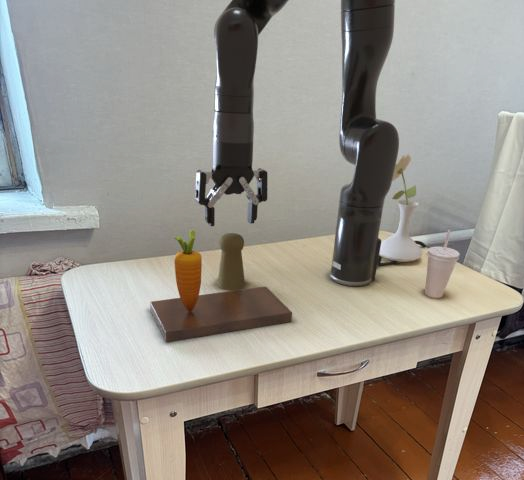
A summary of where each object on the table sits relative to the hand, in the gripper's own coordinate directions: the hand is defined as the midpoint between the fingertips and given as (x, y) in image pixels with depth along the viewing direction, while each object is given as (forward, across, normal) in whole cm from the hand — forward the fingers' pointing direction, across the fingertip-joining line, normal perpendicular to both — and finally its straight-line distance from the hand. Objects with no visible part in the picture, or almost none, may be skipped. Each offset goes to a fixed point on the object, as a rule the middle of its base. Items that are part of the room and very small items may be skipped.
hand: (231, 223), depth 102 cm
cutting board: (+13, -7, -13) cm, 20 cm away
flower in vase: (+13, +45, +3) cm, 47 cm away
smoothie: (+13, +40, -18) cm, 46 cm away
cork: (+14, 0, 0) cm, 14 cm away
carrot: (+12, -13, -13) cm, 22 cm away
